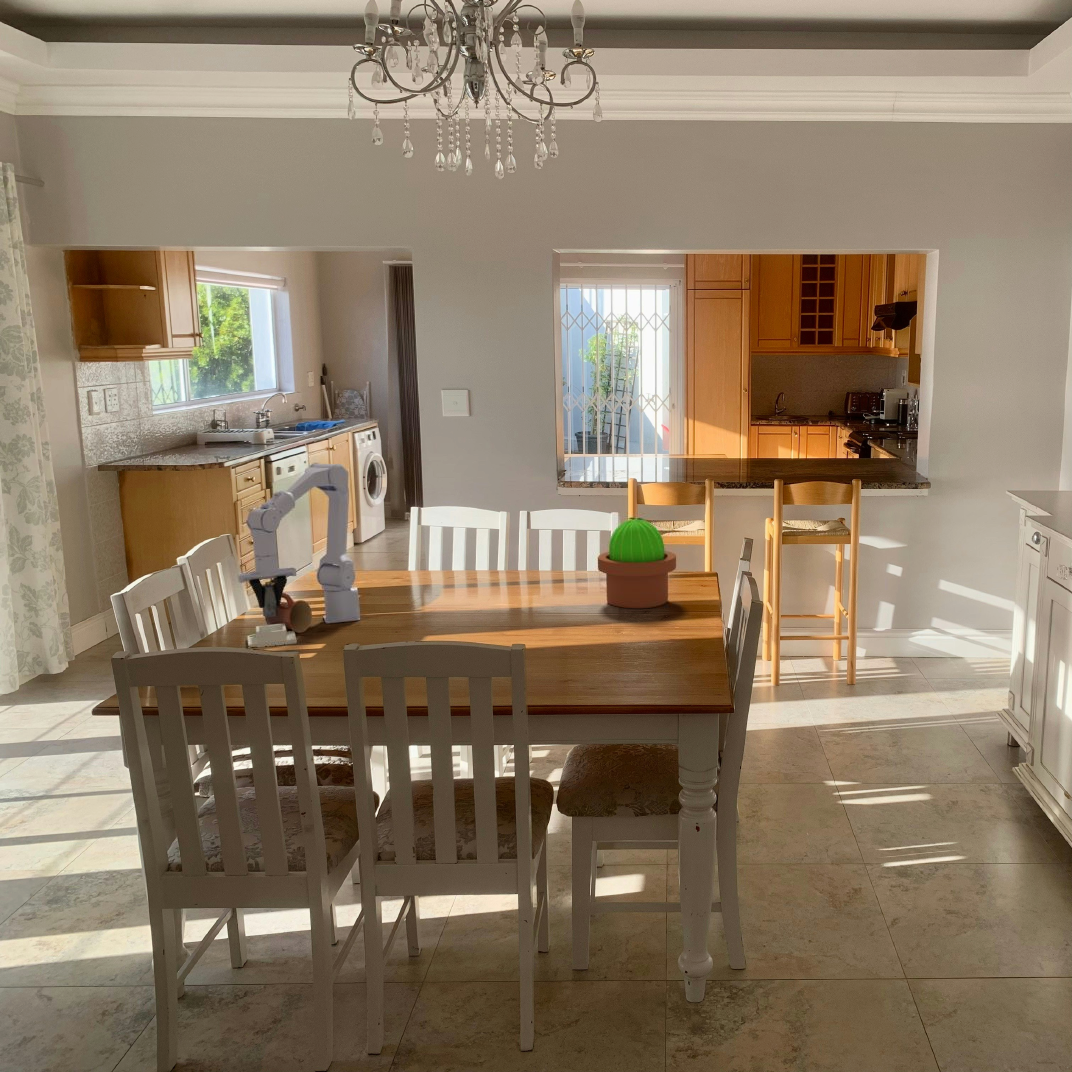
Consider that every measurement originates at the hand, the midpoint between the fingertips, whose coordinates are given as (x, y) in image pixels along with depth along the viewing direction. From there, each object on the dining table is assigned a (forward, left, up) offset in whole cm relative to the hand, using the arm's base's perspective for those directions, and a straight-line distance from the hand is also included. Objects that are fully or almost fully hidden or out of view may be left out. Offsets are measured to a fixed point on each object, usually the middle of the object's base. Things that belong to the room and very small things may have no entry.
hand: (269, 606), depth 260 cm
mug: (0, -13, -4) cm, 14 cm away
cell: (0, 0, -2) cm, 2 cm away
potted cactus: (-103, 0, -10) cm, 103 cm away
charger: (0, 0, -10) cm, 10 cm away
